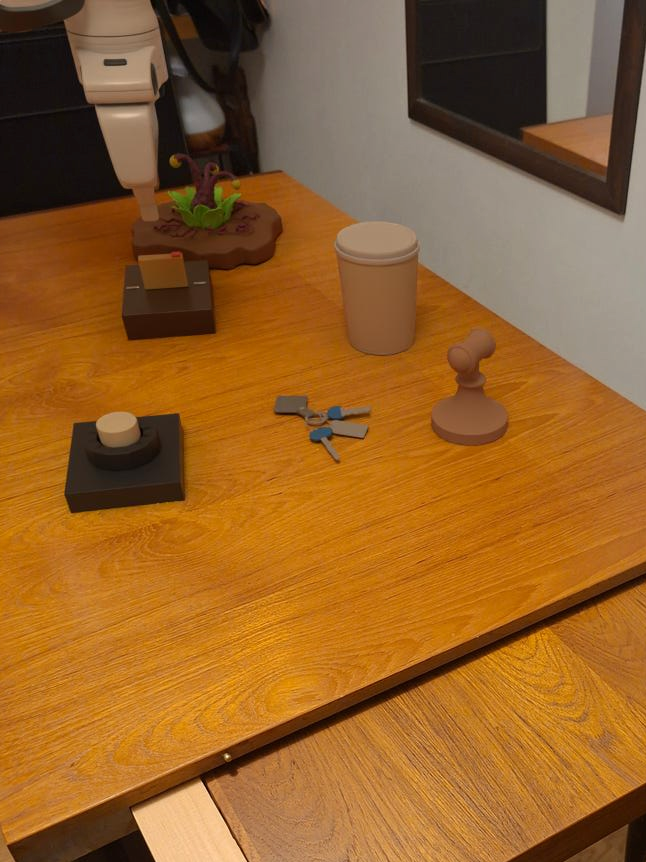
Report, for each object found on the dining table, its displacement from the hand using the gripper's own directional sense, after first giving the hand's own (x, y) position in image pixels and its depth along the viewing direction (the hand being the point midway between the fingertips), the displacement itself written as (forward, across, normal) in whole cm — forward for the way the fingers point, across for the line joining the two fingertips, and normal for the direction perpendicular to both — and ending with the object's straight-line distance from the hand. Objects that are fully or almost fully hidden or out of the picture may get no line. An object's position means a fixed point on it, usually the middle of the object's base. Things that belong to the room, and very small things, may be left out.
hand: (151, 203), depth 101 cm
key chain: (+13, +29, +16) cm, 35 cm away
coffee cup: (+13, +12, +24) cm, 29 cm away
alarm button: (+9, +34, -4) cm, 35 cm away
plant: (+13, -21, +5) cm, 25 cm away
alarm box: (+12, +34, -4) cm, 36 cm away
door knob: (+13, +32, +30) cm, 45 cm away
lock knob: (+10, 0, 0) cm, 10 cm away
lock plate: (+13, 0, 0) cm, 13 cm away
